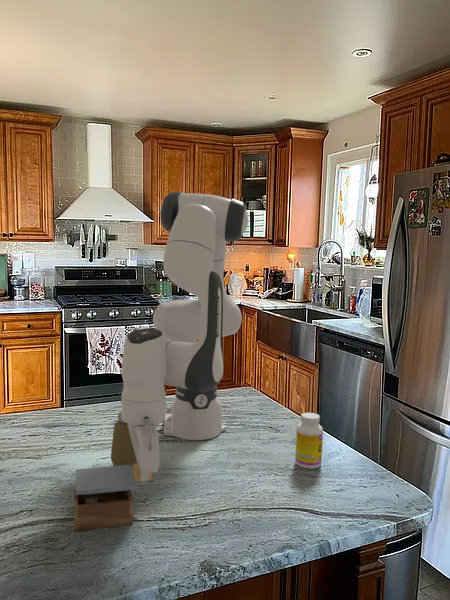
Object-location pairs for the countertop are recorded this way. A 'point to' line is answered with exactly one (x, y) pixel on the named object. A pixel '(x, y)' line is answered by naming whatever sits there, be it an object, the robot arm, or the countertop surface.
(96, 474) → the lid
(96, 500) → the walnut box
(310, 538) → the countertop surface
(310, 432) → the supplement bottle
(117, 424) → the squeeze bottle
